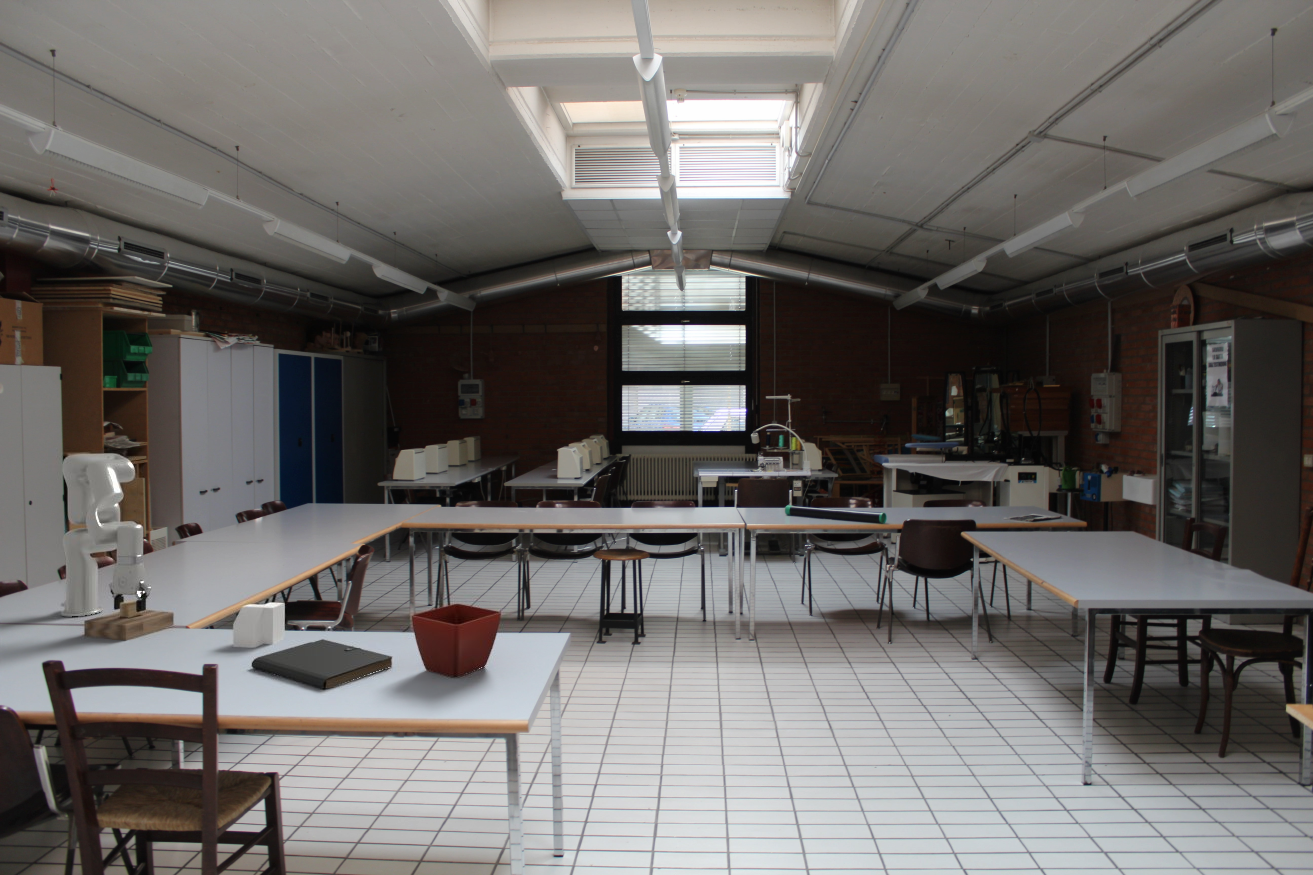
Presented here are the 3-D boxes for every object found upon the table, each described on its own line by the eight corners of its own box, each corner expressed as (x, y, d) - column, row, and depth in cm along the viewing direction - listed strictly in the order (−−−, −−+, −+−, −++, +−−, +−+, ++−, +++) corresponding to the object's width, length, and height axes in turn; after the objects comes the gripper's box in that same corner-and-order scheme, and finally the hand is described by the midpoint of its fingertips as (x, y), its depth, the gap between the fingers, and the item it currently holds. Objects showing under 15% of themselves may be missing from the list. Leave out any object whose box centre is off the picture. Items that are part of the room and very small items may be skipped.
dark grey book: (393, 655, 234) (322, 678, 213) (393, 668, 234) (322, 693, 214) (323, 637, 251) (251, 657, 230) (323, 650, 251) (251, 671, 231)
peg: (119, 631, 267) (119, 602, 266) (130, 628, 271) (130, 600, 270) (128, 633, 265) (128, 603, 265) (139, 630, 269) (139, 601, 269)
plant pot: (502, 666, 237) (502, 611, 236) (456, 684, 220) (457, 624, 220) (456, 655, 246) (456, 602, 246) (409, 672, 230) (409, 615, 230)
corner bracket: (284, 638, 262) (284, 602, 262) (264, 648, 251) (264, 611, 251) (254, 637, 263) (254, 601, 263) (233, 646, 252) (233, 609, 252)
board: (84, 635, 262) (84, 620, 262) (133, 622, 279) (133, 608, 279) (126, 640, 257) (126, 625, 257) (173, 626, 274) (173, 612, 274)
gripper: (100, 560, 266) (100, 610, 266) (139, 563, 261) (139, 614, 262) (120, 556, 273) (120, 605, 274) (159, 560, 269) (159, 609, 269)
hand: (129, 609), depth 268 cm, fingers open, 9 cm apart
